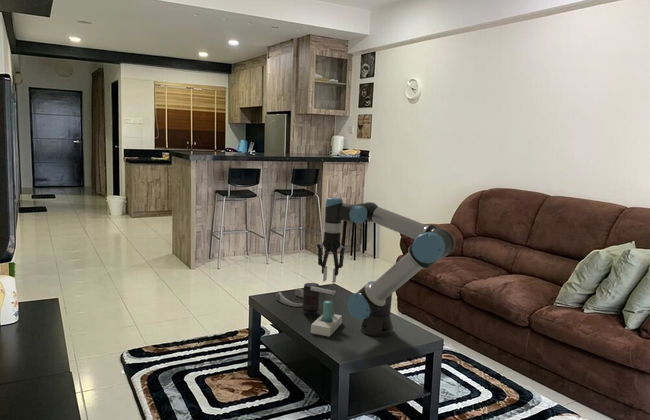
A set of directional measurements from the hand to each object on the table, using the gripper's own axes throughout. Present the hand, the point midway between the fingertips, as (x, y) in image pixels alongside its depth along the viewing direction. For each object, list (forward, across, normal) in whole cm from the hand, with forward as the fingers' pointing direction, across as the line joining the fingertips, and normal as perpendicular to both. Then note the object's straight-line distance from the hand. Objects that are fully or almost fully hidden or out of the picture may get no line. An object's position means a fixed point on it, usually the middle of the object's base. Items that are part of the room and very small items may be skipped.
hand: (329, 281), depth 230 cm
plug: (+21, 0, 0) cm, 21 cm away
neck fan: (+23, +27, -29) cm, 46 cm away
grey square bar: (+8, +5, -8) cm, 12 cm away
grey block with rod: (+23, 0, 0) cm, 23 cm away
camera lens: (+23, +14, -15) cm, 31 cm away
